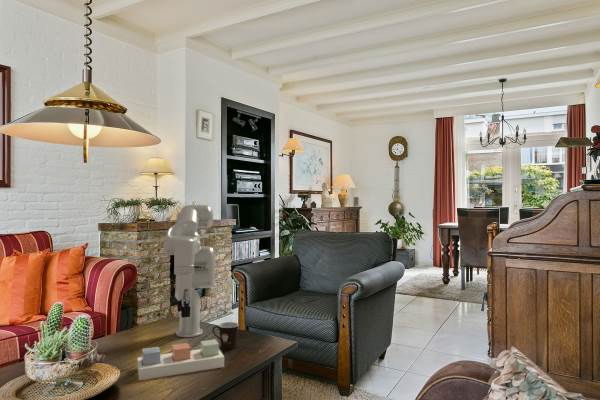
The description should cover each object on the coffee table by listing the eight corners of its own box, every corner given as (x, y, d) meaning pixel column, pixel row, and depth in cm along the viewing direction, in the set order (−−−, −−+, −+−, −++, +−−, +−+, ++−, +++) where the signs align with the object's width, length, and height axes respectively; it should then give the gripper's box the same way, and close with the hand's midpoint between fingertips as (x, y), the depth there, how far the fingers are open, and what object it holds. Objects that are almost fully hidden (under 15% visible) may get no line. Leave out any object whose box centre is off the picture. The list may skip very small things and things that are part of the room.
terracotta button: (172, 357, 160) (172, 344, 160) (187, 355, 162) (187, 342, 162) (174, 363, 154) (174, 349, 155) (190, 360, 157) (190, 347, 157)
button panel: (137, 368, 157) (137, 357, 157) (217, 356, 170) (217, 346, 170) (139, 380, 146) (139, 369, 147) (224, 366, 159) (224, 356, 159)
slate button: (142, 361, 155) (142, 348, 155) (158, 359, 158) (158, 346, 158) (143, 367, 150) (143, 354, 150) (160, 365, 152) (160, 351, 152)
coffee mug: (242, 347, 181) (242, 324, 181) (226, 352, 175) (226, 329, 175) (226, 341, 189) (226, 319, 189) (210, 345, 183) (211, 323, 183)
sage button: (200, 353, 164) (200, 341, 165) (215, 351, 167) (215, 339, 167) (203, 358, 159) (203, 346, 159) (218, 356, 162) (218, 343, 162)
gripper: (171, 267, 165) (170, 309, 165) (177, 273, 150) (177, 320, 149) (190, 266, 169) (189, 308, 168) (198, 272, 153) (197, 318, 153)
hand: (183, 313), depth 159 cm, fingers open, 9 cm apart
